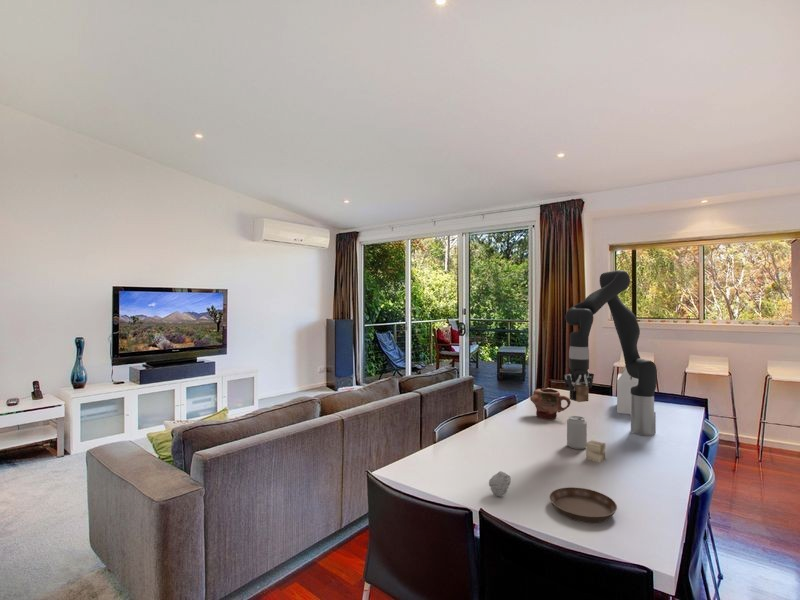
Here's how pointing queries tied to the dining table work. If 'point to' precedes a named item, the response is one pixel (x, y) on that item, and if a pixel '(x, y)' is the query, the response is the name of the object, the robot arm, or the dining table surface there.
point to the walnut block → (581, 393)
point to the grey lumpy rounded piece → (500, 483)
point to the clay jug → (548, 403)
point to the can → (576, 432)
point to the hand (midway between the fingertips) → (578, 399)
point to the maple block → (595, 451)
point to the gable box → (624, 391)
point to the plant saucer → (583, 504)
